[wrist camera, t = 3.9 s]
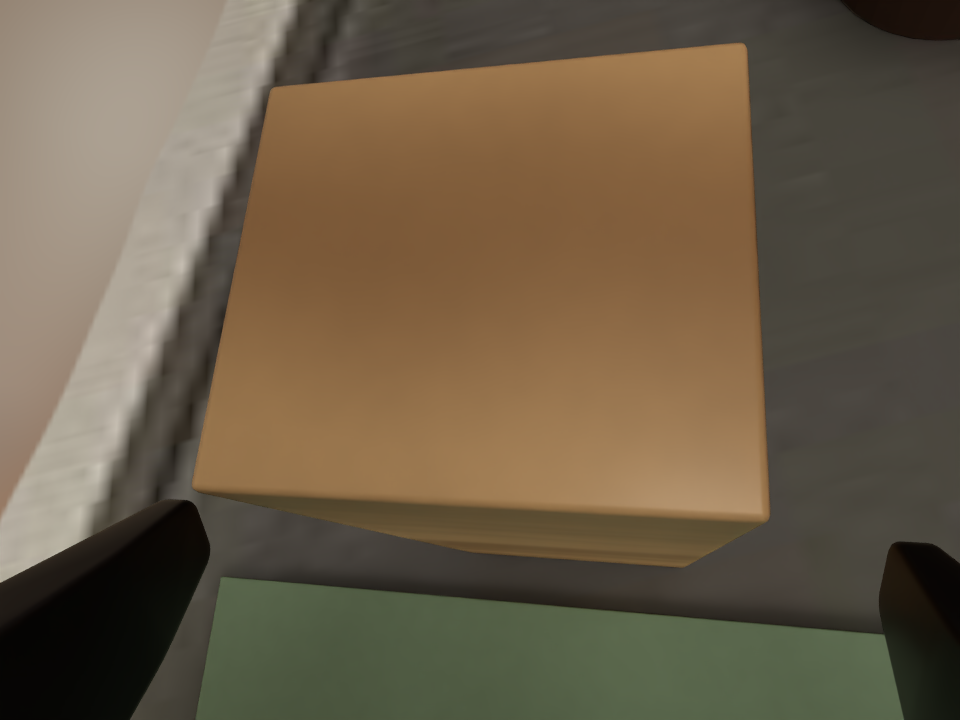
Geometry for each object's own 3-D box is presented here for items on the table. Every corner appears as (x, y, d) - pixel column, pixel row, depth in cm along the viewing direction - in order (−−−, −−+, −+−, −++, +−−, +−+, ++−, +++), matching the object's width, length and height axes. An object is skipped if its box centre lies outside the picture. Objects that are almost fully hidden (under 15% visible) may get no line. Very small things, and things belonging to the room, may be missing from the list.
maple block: (685, 568, 17) (773, 523, 6) (469, 552, 19) (186, 490, 7) (683, 377, 19) (747, 39, 7) (483, 375, 20) (268, 85, 9)
